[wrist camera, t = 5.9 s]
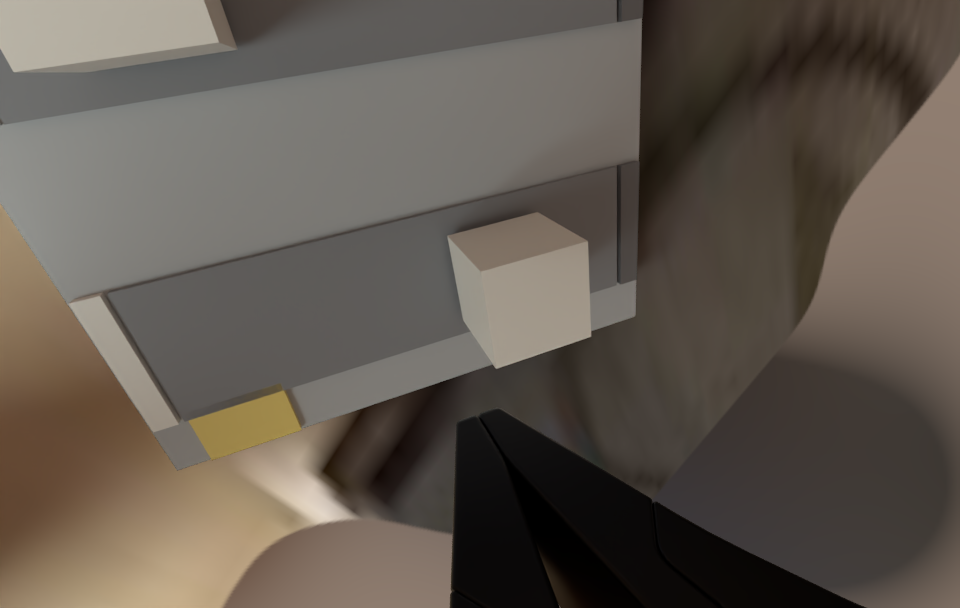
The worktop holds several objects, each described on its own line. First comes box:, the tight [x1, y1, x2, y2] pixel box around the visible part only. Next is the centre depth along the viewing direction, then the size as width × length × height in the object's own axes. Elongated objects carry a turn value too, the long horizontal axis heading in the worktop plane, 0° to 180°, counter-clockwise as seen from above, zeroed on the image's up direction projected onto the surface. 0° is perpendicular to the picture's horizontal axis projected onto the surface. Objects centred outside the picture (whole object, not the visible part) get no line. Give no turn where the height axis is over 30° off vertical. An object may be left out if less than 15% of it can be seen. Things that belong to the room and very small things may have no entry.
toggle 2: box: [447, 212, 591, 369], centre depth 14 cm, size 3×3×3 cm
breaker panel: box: [0, 0, 643, 471], centre depth 14 cm, size 16×17×3 cm
